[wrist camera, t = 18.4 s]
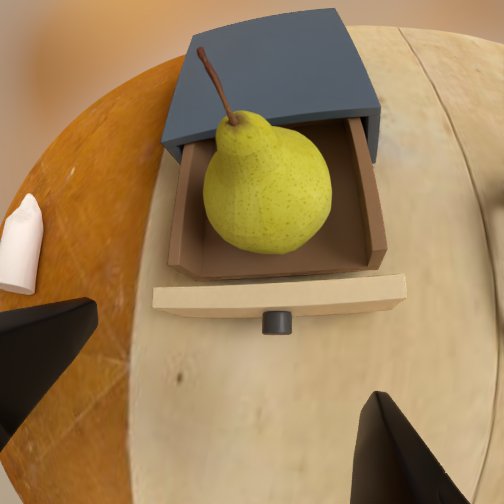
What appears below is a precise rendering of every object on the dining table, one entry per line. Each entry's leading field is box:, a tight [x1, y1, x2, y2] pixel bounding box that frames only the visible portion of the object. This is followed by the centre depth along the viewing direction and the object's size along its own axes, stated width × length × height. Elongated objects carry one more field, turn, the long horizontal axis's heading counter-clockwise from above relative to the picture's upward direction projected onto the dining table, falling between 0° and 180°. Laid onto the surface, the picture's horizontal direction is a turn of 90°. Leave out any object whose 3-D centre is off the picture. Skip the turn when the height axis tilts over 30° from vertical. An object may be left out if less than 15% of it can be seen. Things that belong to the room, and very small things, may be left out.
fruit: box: [196, 47, 332, 255], centre depth 13 cm, size 7×7×12 cm
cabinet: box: [161, 8, 381, 165], centre depth 22 cm, size 16×15×6 cm
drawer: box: [152, 117, 407, 335], centre depth 18 cm, size 16×13×4 cm
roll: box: [0, 193, 44, 295], centre depth 27 cm, size 6×12×6 cm, turn 2°
